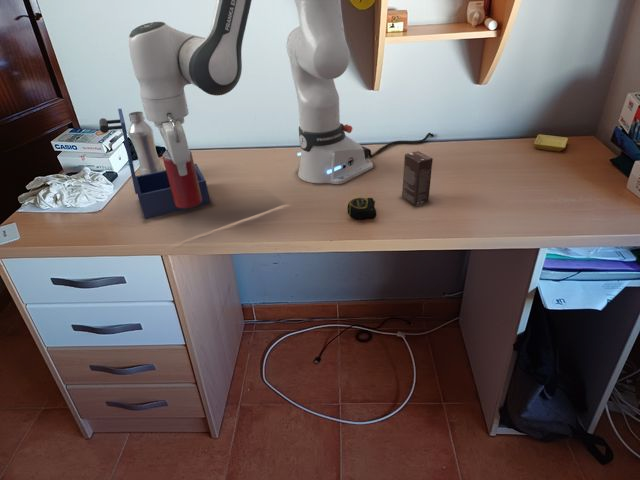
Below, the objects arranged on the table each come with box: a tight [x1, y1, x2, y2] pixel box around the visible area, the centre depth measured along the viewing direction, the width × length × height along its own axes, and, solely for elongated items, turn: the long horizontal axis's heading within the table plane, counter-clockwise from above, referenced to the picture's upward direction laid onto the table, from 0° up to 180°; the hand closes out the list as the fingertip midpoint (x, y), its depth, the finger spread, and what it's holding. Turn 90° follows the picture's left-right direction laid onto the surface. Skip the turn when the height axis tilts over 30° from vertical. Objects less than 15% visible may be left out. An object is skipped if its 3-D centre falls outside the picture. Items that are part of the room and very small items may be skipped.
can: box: [162, 149, 202, 209], centre depth 104 cm, size 6×6×12 cm
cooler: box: [135, 163, 211, 220], centre depth 118 cm, size 17×13×7 cm
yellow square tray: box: [533, 133, 569, 152], centre depth 138 cm, size 9×9×2 cm
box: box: [401, 150, 434, 207], centre depth 111 cm, size 6×4×12 cm
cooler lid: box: [98, 108, 139, 195], centre depth 108 cm, size 17×13×5 cm
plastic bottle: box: [128, 111, 165, 175], centre depth 128 cm, size 6×7×20 cm
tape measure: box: [346, 197, 377, 222], centre depth 108 cm, size 7×7×4 cm
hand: (180, 168), depth 102 cm, fingers closed on can, 6 cm apart
